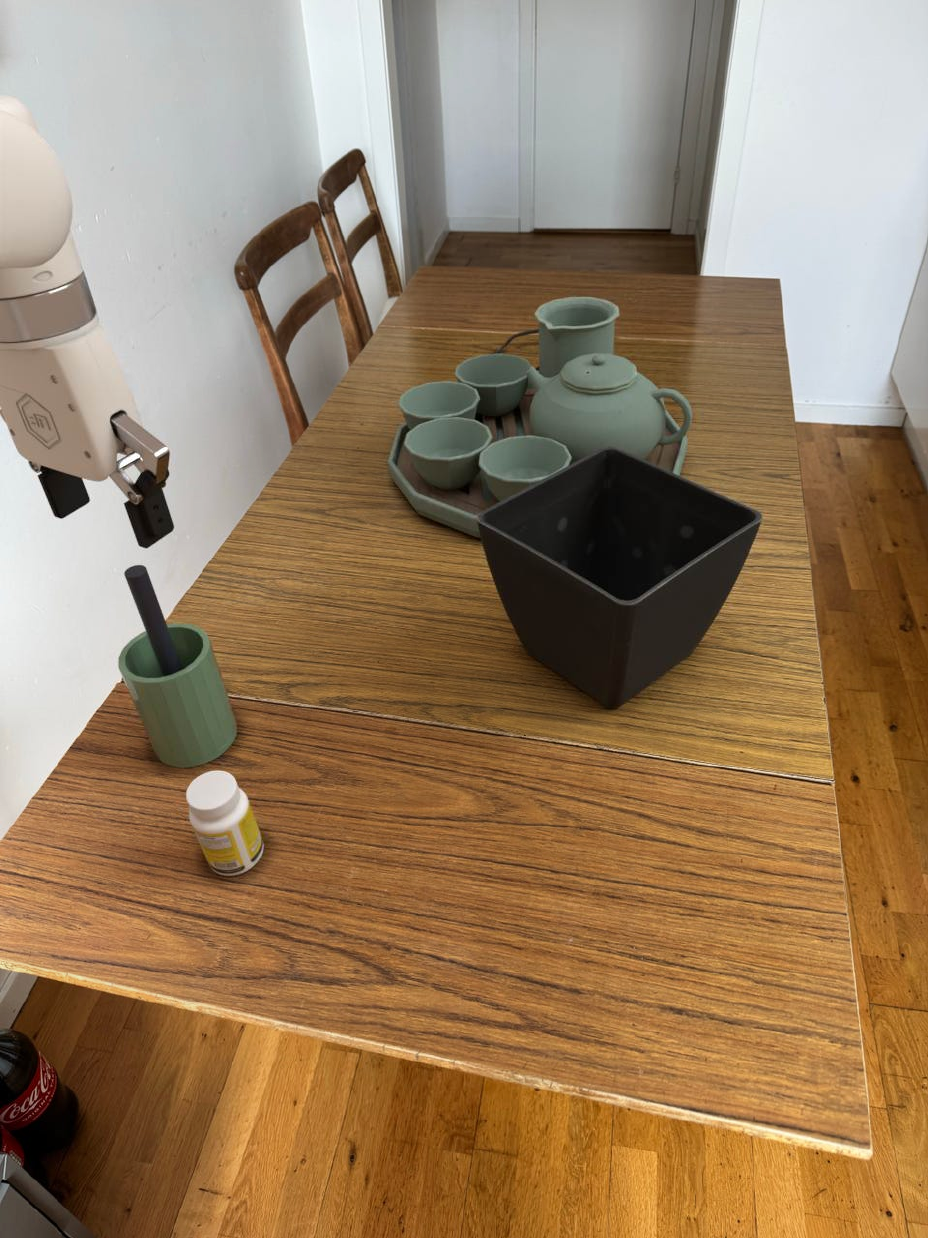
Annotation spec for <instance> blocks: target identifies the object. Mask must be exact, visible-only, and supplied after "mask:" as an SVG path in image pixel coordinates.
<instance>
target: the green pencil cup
mask: <svg viewBox="0 0 928 1238" xmlns="http://www.w3.org/2000/svg"><path fill="white" fill-rule="evenodd" d="M166 624H167V627H168V630H169V632H170V635H171V638H172V641H173V643H174V646H175V649H176V652H177V654H178V657H179V660H180V663H181V665H182V668H183V670H181V671H179V672H177V673H174V674H172V675H169V676H164V677H163V674H162V671H161V669H160V666H159V664H158V661H157V658H156V656H155V653H154V651H153V648H152V645H151V643H150V640H149V638H148V635H147V632H146V630H144V631H142V632H141V633H139V634H137V635H136V636H135V637H133V638H132V639H130V640H129V642H127V643H126V645H124V647H123V648H122V649H121V652H120V654H119V656H118V657H117V658H118V660H117V661H118V662H117V667H118V670H119V673H120V675H121V677H122V680H123V682H124V685H125V686H126V689H127V692H128V693H129V694H128V695H129V696H130V698H131V701H132V703H133V705H134V708H135V711H136V712H137V715H138V717H139V719H140V722H141V724H142V727H143V729H144V732H145V734H146V736H147V738H148V741H149V743H150V745H151V748H152V749H153V751H154V752H153V753H154V754H155V756H156V757H157V759H158V760H159V761H160V762H162V763H164V764H165V765H167V766H169V767H173V768H180V769H182V768H183V769H187V768H188V769H189V768H195V767H199V766H202V765H205V764H208V763H210V762H212V761H214V760H216V759H218V758H219V757H221V756H222V755H223V754H224V753H225V752H227V751H228V749H229V748H230V747H231V746H232V745H233V743H234V741H235V739H236V738H237V733H238V723H237V720H236V715H235V712H234V709H233V707H232V703H231V701H230V697H229V694H228V691H227V688H226V684H225V682H224V679H223V675H222V673H221V670H220V666H219V663H218V660H217V656H216V655H215V652H214V649H213V646H212V645H213V644H212V641H211V639H210V636H209V634H208V633H207V632H206V631H205V630H204V629H202V628H201V627H199V626H197V625H195V624H191V623H186V622H173V623H166Z"/></svg>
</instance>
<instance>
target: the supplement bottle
mask: <svg viewBox="0 0 928 1238" xmlns="http://www.w3.org/2000/svg"><path fill="white" fill-rule="evenodd" d="M185 799H186V802H187V803H186V804H187V805H188V809H189V811H188V819H189V822H190V825H191V828H192V830H193V832H194V834H195V837H196V839H197V842H198V843H199V846H200V848H201V850H202V853H203V855H204V858H205V859H206V862H207V864H208V866H209V868H210V869H211V870H212V871H213V872H214V873H216V874H218V875H221V876H224V877H235V876H238V875H242V874H244V873H246V872H247V871H249V870H251V869H252V868H253V867H254V866H255V865H256V864H257V863H258V862H259V861H260V860H261V858H262V856H263V853H264V840H263V837H262V834H261V832H260V828H259V826H258V823H257V820H256V818H255V814H254V812H253V809H252V806H251V804H250V800H249V798H248V795H247V794H246V793H245V792H244V790H242V788H240V787H239V786H238V782H237V780H236V778H235V777H234V775H232V774H231V773H230V772H228V771H225V770H219V769H218V770H210V771H206V772H204V773H202V774H200V775H198V776H197V777H195V778H194V779H193V780H192V781H191V782H190V784H189V785H188V787H187V789H186V791H185Z"/></svg>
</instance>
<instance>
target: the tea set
mask: <svg viewBox="0 0 928 1238" xmlns="http://www.w3.org/2000/svg"><path fill="white" fill-rule="evenodd" d="M619 308H620V307H619V306H618V305H616V304H614V303H613V302H611V301H610V300H607V299H603V298H597V297H592V296H569V297H564V298H563V297H562V298H558V299H552V300H550V301H548V302H546V303H543V304H541V305H539V307H538V308H537V309H536V310H535V312H534V313H533V315H534V316H535V318H536V320H537V321H538V329H539V333H538V357H539V358H538V367H539V370H538V371H537V370H536V369H535V368H536V367H534V365H531V363H530V361H529V360H528V359H525V358H524V357H521V356H519V355H517V354H507V353H498V354H495V353H488V354H487V353H486V354H480V355H477V356H475V357H474V356H473V357H471V358H467V359H465V360H464V361H462V362H461V363H460V364H458V365H457V366H456V367H455V371H454V377H455V379H456V380H457V382H456V381H450V380H445V381H433V382H427V383H423V384H420V385H416V386H413V387H410V388H409V389H408V390H407V391H405V392H404V393H402V394H401V395H400V398H399V399H398V403H397V406H398V408H399V409H400V411H401V412H402V415H403V417H404V422H403V423H402V424H400V425H399V426H398V427H397V429H396V433H395V436H394V438H393V439H394V440H393V443H392V447H391V449H390V453H389V457H388V460H387V468H388V474H389V476H390V477H391V479H392V481H393V482H394V483H395V485H396V486H397V487H398V489H399V490H400V492H401V493H402V494H403V496H405V497H404V498H405V499H406V500H407V501H408V503H410V505H411V506H412V507H413V509H414V510H415V511H416V513H417V514H418V515H419V516H422V517H424V518H427V519H430V520H432V521H434V522H437V523H440V524H442V525H444V526H446V527H450V528H452V529H455V530H457V531H460V532H462V533H465V534H467V535H469V536H471V537H474V538H481V537H480V532H479V528H478V523H477V519H476V518H477V515H478V514H479V513H481V512H482V511H484V510H486V509H488V508H490V507H491V506H493V505H495V504H497V503H499V502H501V501H503V500H505V499H507V498H508V497H510V496H512V495H514V494H516V493H518V492H520V491H522V490H524V489H525V488H527V487H529V486H531V485H533V484H535V483H537V482H539V481H541V480H543V479H545V478H546V477H548V476H550V475H552V474H554V473H556V472H558V471H560V470H561V469H563V468H565V467H567V466H569V465H571V464H573V463H575V462H576V461H578V460H580V459H582V458H584V457H586V456H588V455H589V454H591V453H593V452H595V451H597V450H599V449H601V448H604V447H609V446H611V447H616V448H619V449H621V450H623V451H625V452H628V453H630V454H632V455H634V456H637V457H639V458H641V459H643V460H646V461H648V462H650V463H652V464H654V465H657V466H659V467H661V468H663V469H666V470H668V471H670V472H672V473H675V474H677V475H679V476H681V473H682V468H683V466H684V462H685V459H686V454H687V451H688V443H689V437H687V434H688V432H689V430H690V428H691V426H692V421H693V411H692V407H691V404H690V402H689V401H688V400H687V398H686V397H685V395H683V394H681V393H680V392H679V391H677V390H676V389H672V388H666V387H662V388H660V389H659V387H658V386H656V384H654V383H653V382H652V381H651V380H649V379H648V378H647V377H645V376H644V375H643V374H642V373H640V372H638V371H637V366H636V365H635V364H634V363H633V362H631V361H630V360H629V359H627V358H626V357H623V356H621V355H616V354H614V351H615V350H614V349H615V348H614V347H615V327H616V319H617V318H618V317H620V309H619ZM664 398H666V399H671V400H672V401H673V402H675V403H676V404H677V405H678V406H679V407H680V409H681V410H682V411H681V412H682V414H683V423H682V425H681V427H680V426H679V425H678V423H677V422H676V421H675V420H674V418H673V417H672V416H671V415H670V413H669V412H668V411H667V409H666V406H665V401H664Z"/></svg>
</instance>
